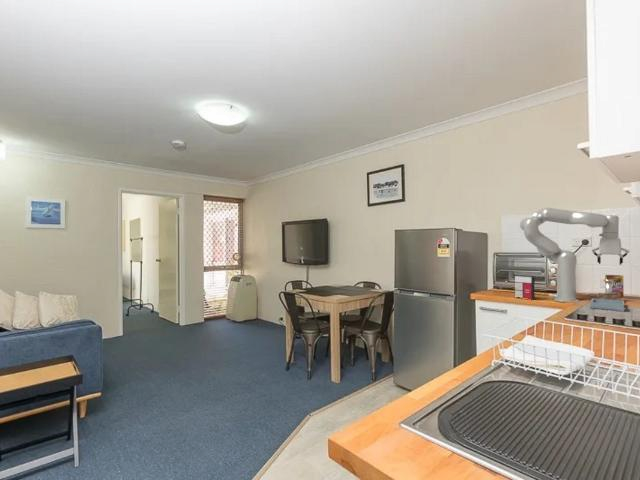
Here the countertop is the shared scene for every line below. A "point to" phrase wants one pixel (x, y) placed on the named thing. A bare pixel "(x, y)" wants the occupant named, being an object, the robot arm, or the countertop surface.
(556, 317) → the countertop surface
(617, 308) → the tray
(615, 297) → the socket block
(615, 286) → the candy box
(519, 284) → the grey and crimson box
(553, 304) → the countertop surface
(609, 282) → the steel pin
